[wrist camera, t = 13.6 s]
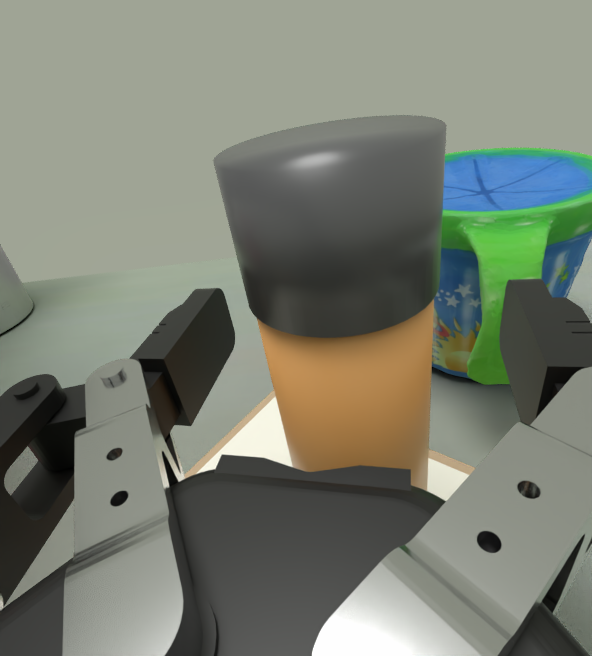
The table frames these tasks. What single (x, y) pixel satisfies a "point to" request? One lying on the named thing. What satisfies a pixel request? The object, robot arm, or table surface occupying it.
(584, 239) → the snack cup
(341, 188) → the orange grey cylinder
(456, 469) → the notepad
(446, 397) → the table surface
